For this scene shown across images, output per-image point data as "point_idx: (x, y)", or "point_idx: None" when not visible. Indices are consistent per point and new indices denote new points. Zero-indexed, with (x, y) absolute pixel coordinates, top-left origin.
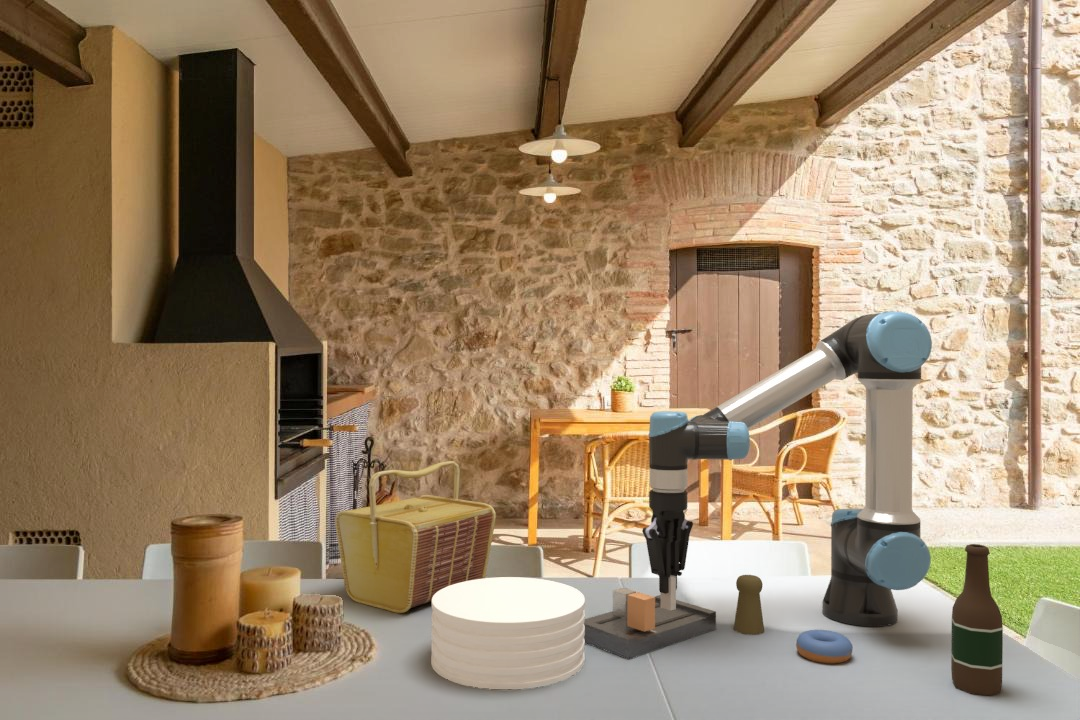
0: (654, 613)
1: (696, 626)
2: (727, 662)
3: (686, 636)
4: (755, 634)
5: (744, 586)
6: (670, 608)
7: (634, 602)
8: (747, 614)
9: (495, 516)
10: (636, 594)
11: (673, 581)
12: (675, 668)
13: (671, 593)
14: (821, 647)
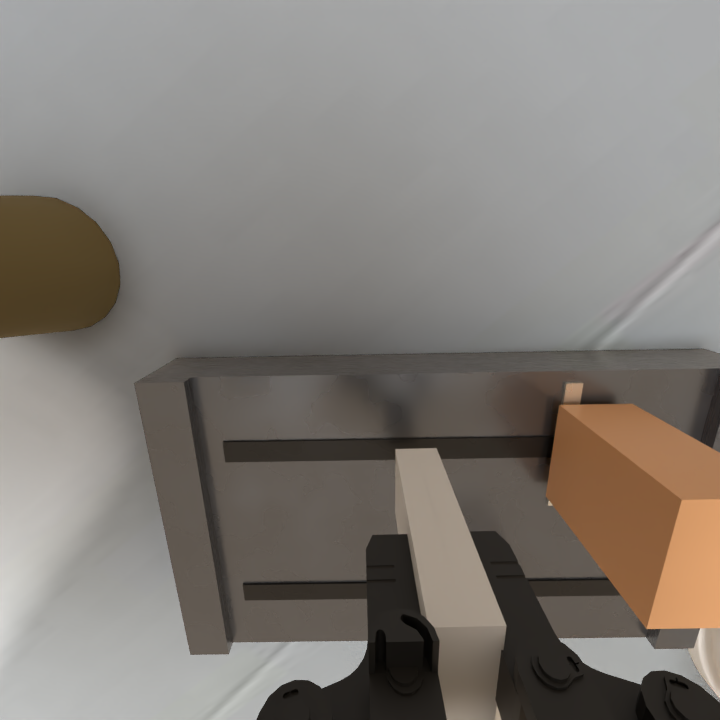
0: (609, 439)
1: (298, 366)
2: (456, 49)
3: (366, 357)
4: (71, 205)
5: None
6: (438, 457)
7: None
8: (20, 236)
9: None
10: (705, 603)
11: (456, 584)
12: (673, 162)
13: (458, 511)
14: None
